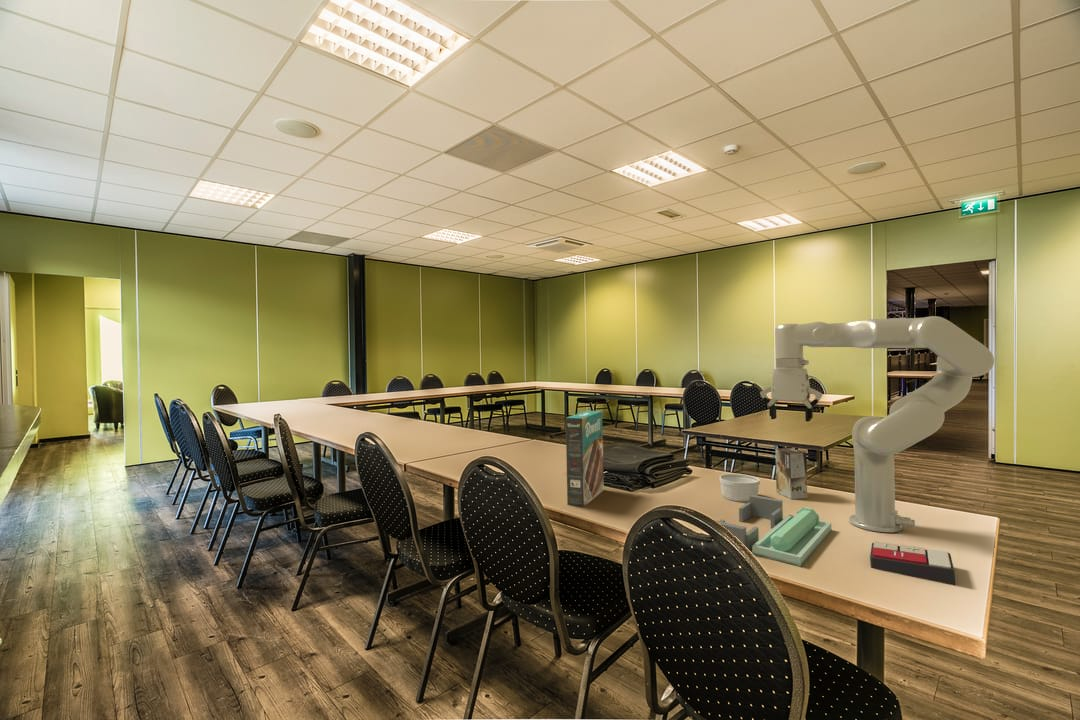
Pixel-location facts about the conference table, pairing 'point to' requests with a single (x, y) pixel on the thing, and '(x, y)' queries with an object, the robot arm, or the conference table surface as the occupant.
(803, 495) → the coffee box
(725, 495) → the ramekin
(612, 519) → the conference table surface
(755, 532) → the bay
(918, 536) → the conference table surface
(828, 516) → the conference table surface
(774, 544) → the green hexagonal bar
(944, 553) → the black switch panel
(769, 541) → the tray
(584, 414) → the cake mix box
